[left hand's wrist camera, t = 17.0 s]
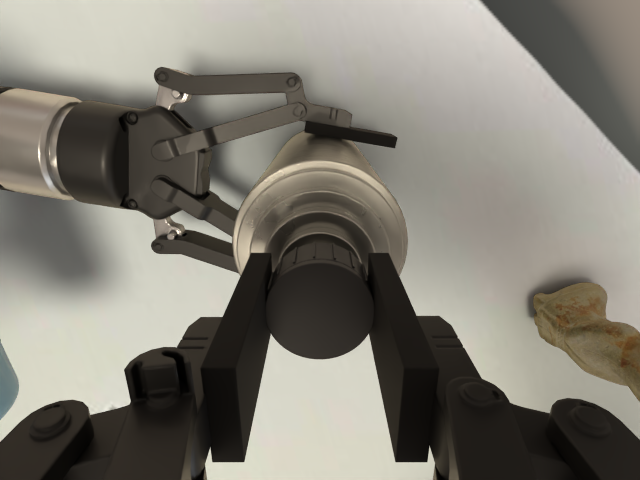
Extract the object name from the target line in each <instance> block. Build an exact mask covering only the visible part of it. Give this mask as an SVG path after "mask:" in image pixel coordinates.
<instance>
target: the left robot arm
mask: <svg viewBox="0 0 640 480" xmlns="http://www.w3.org/2000/svg"><path fill="white" fill-rule="evenodd" d="M271 273H272V257H271V253H251V254H250V256H249V258H248V261H247V263H246V265H245V268H244V270H243V272H242V274H241V277H240V279H239V281H238V284H237V286H236V288H235V290H234V293H233V295H232V297H231V299H230V302H229V304H228V306H227V309H226V311H225V313H224V315H223V317H200V318H199V319H198V320H197V321H195V322H194V323H193V324H191V325H190V326H189V327H188V329H187V330H186V332H185V334H184V336H183V338H182V340H181V341H180V343H179V345H178V346H177V348H176V347H162V348H158V349H153V350H150V351H147V352H145V353H143V354H140V355H139V356H137V357H136V358H135V359H133V360H132V361H130V363H129V364H128V365H127V367H126V368H125V369H124V371H125V376H126V380H127V385H128V390H129V394H130V399H131V403H130V405H127V406H125V407H121V408H118V409H114V410H110V411H106V412H102V413H97V414H93V415H90V413H89V409H88V407H87V406H86V405H85V404H84V403H83V402H80V401H76V400H66V401H59V402H55V403H52V404H49V405H46V406H44V407H42V408H40V409H38V410H36V411H34V412H33V413H31V414H30V415H28V416H27V417H26V418H25V419H23V420H22V421H21V422H20V423H19V424H18V425H17V426H16V427H15V428H14V429H13V430H12V431H11V432H10V433H9V434H8V435H7V436H6V437H5V438H4V439H3V440H2V441H1V442H0V480H207V476H206V469H205V462H206V459H207V456H208V452H209V449H210V447H211V455H212V462H244V460H245V456H246V451H247V446H248V441H249V436H250V431H251V427H252V422H253V417H254V412H255V407H256V402H257V398H258V393H259V388H260V383H261V378H262V373H263V368H264V364H265V359H266V354H267V349H268V344H269V339H270V335H271V332H270V330H269V329H268V326H267V322H266V304H265V303H266V298H267V295H268V291H267V288H268V284H269V281H270V277H271ZM367 277H368V280H369V284H370V288H371V292H372V296H373V300H374V318H373V325H372V328H371V330H370V332H369V336H370V341H371V345H372V350H373V355H374V360H375V365H376V370H377V375H378V379H379V384H380V389H381V394H382V399H383V404H384V408H385V413H386V418H387V423H388V428H389V433H390V438H391V442H392V447H393V452H394V457H395V462H427V460H428V453H429V445H430V448H431V451H432V454H433V458H434V461H435V469H434V476H433V480H640V440H639V439H638V438H637V437H636V436H635V435H634V434H633V433H632V432H631V431H630V430H629V429H628V428H627V427H626V426H625V425H624V424H623V423H622V422H621V421H620V420H619V419H618V418H616V417H615V416H614V415H613V414H611V413H610V412H609V411H607V410H605V409H603V408H601V407H600V406H598V405H596V404H593V403H590V402H587V401H584V400H581V399H571V398H566V399H561V400H557V401H556V402H555V403H554V404H553V405H552V408H551V411H550V413H545V412H541V411H537V410H532V409H528V408H524V407H520V406H517V405H514V404H512V403H510V402H509V400H508V398H507V397H506V395H505V394H504V392H503V391H501V390H500V389H499V388H498V387H497V386H495V385H494V384H492V383H490V382H488V381H485V380H483V379H482V378H481V377H480V375H479V373H478V371H477V370H476V368H475V366H474V364H473V363H472V361H471V359H470V357H469V356H468V354H467V352H466V350H465V349H464V348H463V345H462V343H461V342H460V340H459V339H458V338H457V335H456V333H455V331H454V329H453V328H452V326H451V325H450V324H449V323H447V322H446V321H445V320H444V319H442V318H441V317H440V316H416V314H415V311H414V309H413V307H412V305H411V302H410V300H409V298H408V296H407V293H406V291H405V289H404V286H403V284H402V282H401V280H400V277H399V275H398V273H397V270H396V268H395V266H394V264H393V261H392V259H391V257H390V255H389V253H368V273H367Z"/></svg>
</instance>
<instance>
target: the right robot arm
mask: <svg viewBox="0 0 640 480" xmlns="http://www.w3.org/2000/svg"><path fill="white" fill-rule="evenodd" d="M154 78H155V81H156V82H157V83H158V84H159V88H158V94H157V100H156V106H151V107H149V108H146V109H138V108H133V107H127V106H121V105H115V104H109V103H103V102H97V101H91V100H86V101H81V100H79V99H77V98H74V97H68V96H62V95H56V94H50V93H44V92H38V91H32V90H26V89H20V88H11V87H2V86H0V189H1V190H7V191H13V192H21V193H27V194H33V195H39V196H44V197H50V198H56V199H62V200H73V199H75V200H77V201H79V202H83V203H89V204H96V205H102V206H108V207H115V208H121V209H130V210H137V211H140V212H142V213H144V214H146V215H147V216H148V217H150V218H152V219H154V226H155V233H156V239H155V240H154V241H153V242H152V244H151V247H152V250H153V251H154V252H156V253H158V254H183V255H186V256H189V257H192V258H195V259H198V260H201V261H204V262H207V263H210V264H213V265H216V266H219V267H222V268H225V269H228V270H231V271H234V272H237V273H239V272H238V269H237V266H236V264H235V259H234V255H233V246H232V243H229V242H226V241H223V240H220V239H217V238H214V237H211V236H209V235H206V234H203V233H200V232H196V231H192V230H185V228H184V226H183V225H182V224H179V223H175V222H174V221H173V220H172V219H171V217H170V216H171V215H173V214H175V213H177V212H179V211H181V210H184V211H186V212H187V213H189V214H191V215H192V216H194V217H196V218H197V219H200V220H205V221H207V222H209V223H210V224H212V225H214V226H215V227H217V228H219V229H220V230H222V231H224V232H225V233H227V234H228V235H230V236H233V228H234V223H235V219H236V216H237V214H238V210H236V209H234V208H233V207H231V206H230V205H228V204H227V203H225V202H223V201H222V200H221V199H220V198H219V197H218V196H217V195H216V194H215V193H213V192H211V191H210V190H208V189H209V186H210V177H209V172H208V168H209V165H210V162H211V157H212V150H210V148H209V147H211V146H214V145H217V144H220V143H224V142H227V141H231V140H234V139H238V138H241V137H244V136H248V135H251V134H255V133H258V132H262V131H265V130H268V129H272V128H275V127H279V126H282V125H286V124H289V123H292V122H296V121H305V122H306V125H305V132H304V133H309V134H315V135H321V136H327V137H333V138H339V139H344V140H350V141H356V142H362V143H368V144H374V145H379V146H385V147H391V148H395V146H396V141H397V137H396V136H394V135H392V134H388V133H382V132H377V131H371V130H365V129H359V128H354V127H350V124H351V118H352V114H350V113H349V112H347V111H346V110H343V109H337V108H331V107H325V106H320V105H314V104H311V103H309V102H308V101H307V100H306V98H305V95H304V90H303V85H302V80H301V78H300V77H299V76H298V75H297V74H295V73H265V74H236V75H206V76H193V75H191V74H188V73H185V72H182V71H179V70H175V69H170V68H164V67H160V68H158V69H156V70H155V73H154ZM285 92H286V97H287V102H288V105H285V106H282V107H279V108H275V109H272V110H269V111H265V112H262V113H259V114H255V115H252V116H248V117H245V118H242V119H238V120H235V121H232V122H228V123H225V124H221V125H218V126H215V127H211V128H208V129H204V130H201V131H198V132H197V131H196V130H195V129H194V128H193V127H192V126H191V125H190V124H189V123H187V122H186V121H185V120H184V119H183V118H182V117H181V116H180V115H179V114H178V113H177V112H176V111H175V110H174V107H175V105H176V104H178V103H187V102H189V101H190V100H191V98H192V95H225V94H255V93H285ZM18 391H19V382H18V378H17V376H16V373H15V371H14V369H13V367H12V365H11V363H10V361H9V359H8V357H7V355H6V352H5V350H4V348H3V346H2V344H1V340H0V420H1V418H2V417H3V416H4V415H5V414H6V413H7V412H8V410H9V409H10V408H11V407H12V405H13V403H14V402H15V400H16V398H17V395H18Z"/></svg>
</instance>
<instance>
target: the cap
mask: <svg viewBox="0 0 640 480" xmlns="http://www.w3.org/2000/svg"><path fill="white" fill-rule="evenodd" d="M267 291H268V295H267V298H266V303H265V304H266V322H267V326H268V329H269V330H270V332H271V334H272V336H273V337H274V338H275V340H276V341H277V342H278V343H279V344H280V345H281V346H283V347H284V348H285V349H287V350H288V351H290V352H292V353H294V354H296V355H299V356H302V357H305V358H310V359H330V358H334V357H338V356H341V355H344V354H346V353H348V352H350V351H351V350H353V349H355V348H356V347H357V346H358V345H360V344H361V343H362V341H363V340H364V339H365V338H366V337H367V335H368V334H369V332H370V330H371V328H372V325H373V318H374V300H373V296H372V292H371V288H370V284H369V280H368V277H367V273H366V270H365V266H364V264H361V262H360V261H359V260H358V259H357V258H356V257H355V256H354V255H353V254H352V252H351V251H350V252H349V251H347V250H346V249H344V248H342V247H339V246H337V245H335V244H334V243H333V244H328V243H316V242H313V243H312V244H307V245H303V246H301V247H298V248H297V247H295V249H294V250H292V251H291V252H289V253H288V254H287V255H286V256H284V257H283V258H282V257H281V258H280V262H279V263H278V265H277V266H276V268H275V270H274V272H272V273H271V277H270V281H269V284H268V288H267Z"/></svg>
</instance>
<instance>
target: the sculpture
mask: <svg viewBox="0 0 640 480" xmlns="http://www.w3.org/2000/svg"><path fill="white" fill-rule="evenodd" d="M606 303H607V294H606V292H605V290H604V289H603V288H602V287H601V286H600V285H598V284H594V283H588V282H583V283H577V284H573V285H570V286H568V287H565V288H563V289H561V290H559V291H557V292H554V293H552V294H544V293H538V294H536V295H535V296H534V298H533V306H534V308H535V310H536V313H535V314H534V320H535V324H536V325H537V326H538V332H539V335H540V337H541V338H543V339H545V341H546V342H548V343H549V344H551V345H553V346H555V347H558V348H560V349H562V350H563V351H565V352H566V353H567V354H568V355H569V356H570V357H571V358H572V360H573V361H574V362H575V363H576V364H577V365H578V366H579V367H580V368H581V369H583V370H584V371H586V372H587V373H590V374H592V375H594V376H597V377H599V378H602V379H605V380H608V381H610V382H613V383H617V384H620V385H625V386H628V387H629V388H630V389H631V391H632V392H633V394H634V395H635V396H636V398H637V399H638V400H639V401H640V333H639V332H638V331H637V330H636V329H635V328H634V327H632V326H630V325H628V324H625V323H620V322H611V321H609V320H607V319H606V312H605V310H606Z"/></svg>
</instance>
